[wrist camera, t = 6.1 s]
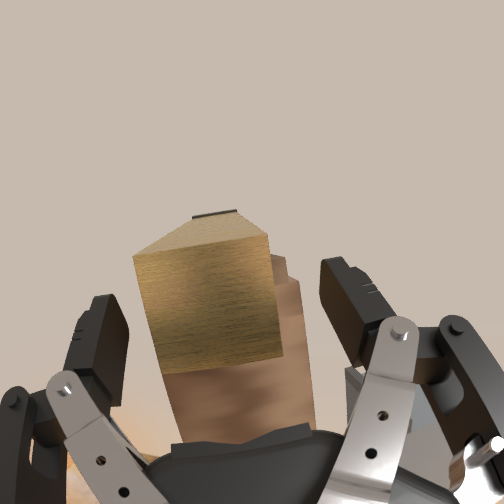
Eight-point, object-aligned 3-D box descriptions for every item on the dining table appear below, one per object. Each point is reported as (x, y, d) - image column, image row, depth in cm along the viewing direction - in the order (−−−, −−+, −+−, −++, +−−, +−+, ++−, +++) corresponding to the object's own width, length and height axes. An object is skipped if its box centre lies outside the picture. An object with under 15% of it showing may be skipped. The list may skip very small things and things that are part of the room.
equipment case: (373, 557, 17) (395, 427, 16) (342, 501, 28) (339, 369, 27) (439, 525, 18) (482, 382, 17) (400, 479, 29) (412, 346, 28)
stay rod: (159, 374, 9) (128, 249, 9) (200, 257, 31) (193, 215, 30) (286, 356, 10) (269, 226, 9) (242, 251, 31) (235, 209, 30)
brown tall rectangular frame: (242, 573, 18) (140, 281, 17) (234, 508, 30) (171, 265, 29) (323, 557, 19) (295, 255, 18) (300, 496, 31) (264, 250, 30)
